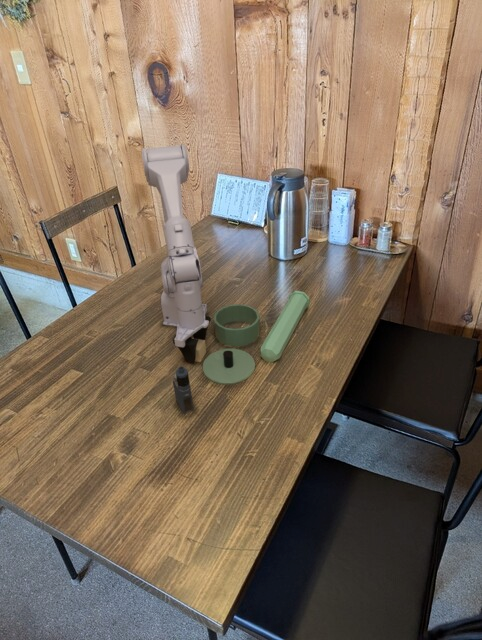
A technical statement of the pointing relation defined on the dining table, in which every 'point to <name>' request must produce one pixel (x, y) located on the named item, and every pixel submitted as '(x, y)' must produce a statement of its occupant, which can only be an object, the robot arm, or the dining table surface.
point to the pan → (242, 334)
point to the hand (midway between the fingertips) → (195, 352)
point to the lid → (228, 366)
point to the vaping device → (183, 390)
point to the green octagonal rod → (284, 326)
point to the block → (200, 350)
